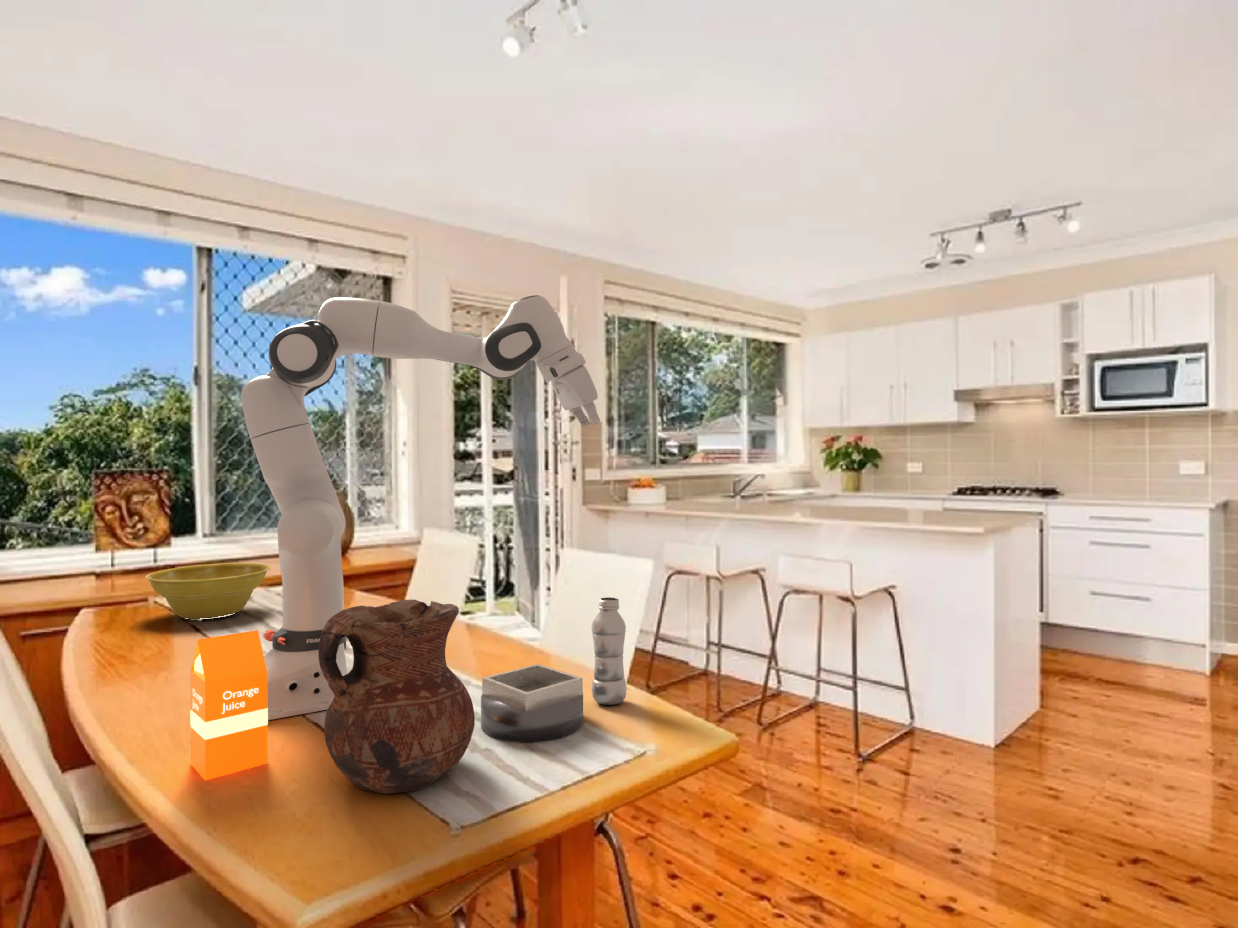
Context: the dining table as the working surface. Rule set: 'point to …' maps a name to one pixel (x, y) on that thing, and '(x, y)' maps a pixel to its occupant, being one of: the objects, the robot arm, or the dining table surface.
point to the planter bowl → (208, 588)
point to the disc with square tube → (531, 704)
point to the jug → (395, 696)
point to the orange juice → (228, 705)
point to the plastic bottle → (608, 653)
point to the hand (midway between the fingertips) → (591, 423)
